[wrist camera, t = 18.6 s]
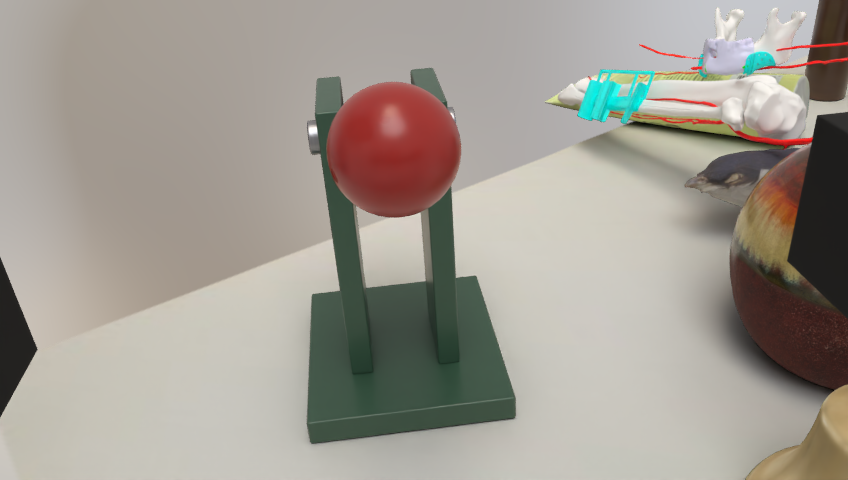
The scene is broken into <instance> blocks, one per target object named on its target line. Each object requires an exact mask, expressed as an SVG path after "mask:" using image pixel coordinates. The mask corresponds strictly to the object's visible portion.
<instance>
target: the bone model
mask: <svg viewBox="0 0 848 480" xmlns="http://www.w3.org/2000/svg"><path fill="white" fill-rule="evenodd" d="M778 11H779V9H778V8H774V9H772V10H771V12H770V13H769V16H768V19H767V26H766V29H765V32H764V33H763V35H762V36H761V38H760V39H759V40H758V41H757V42H755V43H754V42H753V38H752V37H749V38H745V39H742V40H736V33H737V27H738V25H739V23H740V21H741V20H742V19H743V17H744V12H743V11H742V10H740V9H732V10H730V12H729V13H728V15H727V17H726V20H727V22H725V21H723V20H722V17H721V14H720V9H719V8H716V11H715V26H716V39H706V40H705V44H704V49H703V54H701V56H700V58H699V64H698V67H692V68H691V69H692V70H697V69H699V72H675V73H669V74H663V73H655V72H654V71H631V70H600V73H599V75H598V78H597V77H589V76H588V78H583V79H581V80H579V81H578V82H576V84H575V86H574V84H572V83H571V84H570V85H569V86H567V87H566V88H565V89H563V90H561V92H560V93H559V94H558V100H559V101H561V102H562V103H563V104H567V105H570V106H573V105H575V104H578V105H579V106H580V109H579V112H578V117H581V118H584V119H587V120H590V121H592V119H595V120H598V121H600V122H605V121H606V119H607V117H608V115H609V112H611V113H613V114H619V115H623V117H622V119H621V123H623V124H626V123H627V121H628V120H629V118H630V116H632V117H636V118H640V119H661V120H663V121H666V122H669V123H679V124H680V123H686V122H692V123H693V125H694V124H717V125H720V124H725V123H726V124H727V125H728V126H729V127H730V128H731V130H732V131H733V132H735V133H736V134H737V135H738V136H740V137H742V138H745V139H747V140H751V141H755V142H761V143H767V144H772V145H781V146H784V147H785V148H784V149H786V148H787V147H788V146H790V145H805V144H810V143H812V139H813V137H812V138H802V139H797V138H798V137H799V136H800V135H801V133H802V132H803V131H804V130H805V127H806V112H807V108H806V106H805V104H804V102H803V101H802V99H801V97H800V96H799V95H798V94H796V93H794V92H791V91H790V90H788V89H787V88H785V87H783V86H781V85H779V84H778V83H777V81H776V79H775V78H774V77H772V76H769V75H755V76H749V77H745V78H742V79H731V80H721V81H688V80H657V81H652V80H653V77H654V75H658V74H662V75H670V74H677V73H682V74H696V73H699V74H700V75H701V76H702V77H704V78H706V77H707V76H708V74H716V75H725V76H727V75H733V74H739V73H743V74H746V76H748V75H751V74H753V72H754V71H755V70H762V69H770V68H795V67H800V66H805V65H811V64H816V63H822V64H828V63H832V62H844V61H848V58H842V59H834V60H828V61H818V60H816V61H812V62H808V63H804V64H800V65H792V66H775V65H776V64H777V65H780V64H783V63H785V62H786V61H788V59H789V58H790V55H791V53H792V49H796V48H813V47H829V46H841V45H848V42H844V43H838V44H821V45H806V46H794V47H792V41H793V38H794V35H795V33H796V31H797V30H798V28H799V27H800V25H801V24H802V22H803V20H804V19H805V17H806V15H807V14H806V12H797V11H794V12H793V14H792V16H791V18H792V20H791V21H789V22H786V23H785V24H781V23H780V22H779V20H778V17H777V13H778ZM639 45H640V44H639ZM640 46H642V47H644V48H646V49H649V50H651V51H654V52H656V53H659V54H662V55H669V56H675V57H681V58H686V57H685V56H680V55H675V54H666V53H660V52H658V51H655V50H653V49H651V48H648V47H646V46H644V45H640ZM693 59H696V58H693ZM766 66H768V67H766ZM763 67H764V68H763ZM602 73H608V76H607V79H606V80H604V79H602V78H601V76H602ZM612 73H614V74H635V77H634V79H633V82H632V83H628V84H617V83H616V82H615V81H609V80H610V77H611V74H612ZM638 75H646V76H647V75H650V78H649V81H645V82H638V83H636V81H637V78H638ZM646 76H645V77H646ZM639 77H640V76H639ZM640 78H644V77H640ZM612 111H625V113H624V114H620V113H616V112H612ZM633 112H641V113H650V114H657V115H667V116H675V117H701V118H714V119H720V120H719V121H714V120H712V121H710V120H709V119H708V120H705V119H704V120H701V119H683V118H680V119H677V118H675V119H673V118H666V117H658V116H651V115H641V116H644V117H645V116H646V117H658V118H642V117H639V114H634V113H633ZM632 114H634V115H638V116H633V115H632ZM666 119H672V120H685V121H679V122H678V121H669V120H666ZM693 120H697V121H696V122H694V121H693ZM744 122H745V123H746V126H747V127H748V128H751V129H754V130H755V131H757V133H758V135H759V137H755V136H750V135H747V134H745V133H743V132H741V131H740V130H742V129H743V126H744ZM784 149H782V150H784Z"/></svg>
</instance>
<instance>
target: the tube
mask: <svg viewBox="0 0 848 480" xmlns="http://www.w3.org/2000/svg"><path fill="white" fill-rule="evenodd" d="M682 72H683V71H682ZM655 73H663V74H669V73H675V72H655ZM755 75H769V76H772V77H774V78H775V79H776V81H777V83H778V84H779V85H781V86H783V87H785V88H787V89H788V90H790V91H791V92H794V93H796V94H798V95H799V96H800V97H801V99H802V101H803V102H804V104H805V106H806V108H807V112H806V118H807V113H808V106H809V96H810V90H809V82H808V79H807V77H806V76H804V75H791V74H767V73H753V74H751V75H748V76H746V74H743V73H739V74H733V75H727V76H725V75H716V74H708V76H707V77H706V78H704V77H702V76H701V75H700V74H699V73H696V74H682V73H677V74H670V75H662V74H658V75H654V77H653V80H652V81H657V80H688V81H721V80H731V79H742V78H745V77H749V76H755ZM607 76H608V74H602V76H601V78H602V79H604V80H606V79H607ZM639 76H640V77H644V78H640V77H639ZM645 76H646V75H638V78H637V81H636V83H638V82H645V81H649V78H650V75H647V76H646V77H645ZM593 77H597V78H598V75H596V76H593ZM634 77H635V74H614V73H612V74H611V77H610V80H609V81H615V82H616V83H617V84H628V83H632V82H633V79H634ZM587 78H588V77H587ZM574 86H575V85H574ZM545 103H549V104H552V105H556V106H560V107H564V108H569V109H573V110H578V111H579V109H580V106H579V105H578V104H575V105H573V106H570V105H567V104H563V103H562V102H561V101H559V100H558V95H556V96H554V97H553V98H551V99H549V100H547V101H545ZM612 112H616V113H620V114H624V113H625V111H612ZM633 113H634V114H639V117H642V118H658V117H666V118H673V119H675V118H677V119H680V118H683V119H701V120H704V119H705V120H708V119H709V120H710V121H712V120H714V121H719V120H720V119H714V118H701V117H675V116H667V115H657V114H650V113H641V112H633ZM634 114H632V115H633V116H638V115H634ZM641 115H651V116H658V117H646V116H645V117H644V116H641ZM608 116H610V117H615V118H621V119H622V117H623V115H619V114H613V113H611V112H609V115H608ZM629 120H632V121H638V122H644V123H651V124H656V125H663V126H669V127H675V128H682V129H689V130H696V131H703V132H711V133H717V134H725V135H732V136H738V135H737V134H736V133H735V132H733V131H732V130H731V128H730V127H729V126H728V125H727V124H726V123H725V124H720V125H717V124H694V125H693V123H692V122H686V123H680V124H679V123H669V122H666V121H663V120H661V119H640V118H636V117H632V116H630V118H629ZM666 120H669V121H678V122H679V121H685V120H672V119H666ZM693 121H694V122H696V121H697V120H693ZM740 131H741V132H743V133H745V134H747V135H750V136H755V137H759V135H758V133H757V131H755V130H754V129H751V128H748V127H747V126H746V123H745V122H744V126H743V129H742V130H740ZM739 137H740V136H739Z"/></svg>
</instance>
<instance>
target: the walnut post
mask: <svg viewBox="0 0 848 480" xmlns="http://www.w3.org/2000/svg"><path fill="white" fill-rule="evenodd" d="M844 42H848V0H819V4H818V10H817V15H816V20H815V25H814V30H813V35H812V40H811V45H821V44H838V43H844ZM842 58H848V45H841V46H829V47H813V48H810V50H809V55H808V61H807V63H808V62H812V61H816V60H818V61H828V60H834V59H842ZM805 76H806V77H807V79H808V82H809V90H810V96H809V98H810V99H814V100H820V101H835V100H840V99H843V98H844V97H845V94H846V90H847V85H848V61H844V62H832V63H828V64H822V63H816V64H811V65H807V66H806V71H805Z"/></svg>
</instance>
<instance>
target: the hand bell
mask: <svg viewBox="0 0 848 480" xmlns="http://www.w3.org/2000/svg"><path fill="white" fill-rule="evenodd" d="M745 480H848V385H844V386H842V387H840V388H838V389H836V390H834V391H833V392H832V393H831V394H830V395H829V396H828V397H827V398H826V399H825V401H824V402H823V404H822V406H821V408H820V411H819V413H818V416H817V418H816V420H815V422H814V424H813V426H812V428H811V430H810V432H809V433H808V435H807V437H806V438H805V440H804V441H803V442H802V443H801V445H797V446H793V447H789V448H786V449H783V450H781V451H778V452H776V453H774V454H772V455H771V456H769V457H767V458H766V459H764V460H763V461H762V462H761V463H759V464H758V465H757V466H756V467H755V468H754V469H753V470H752V471H751V472H750V473H749V475H748V476H747V477H746V479H745Z"/></svg>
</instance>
